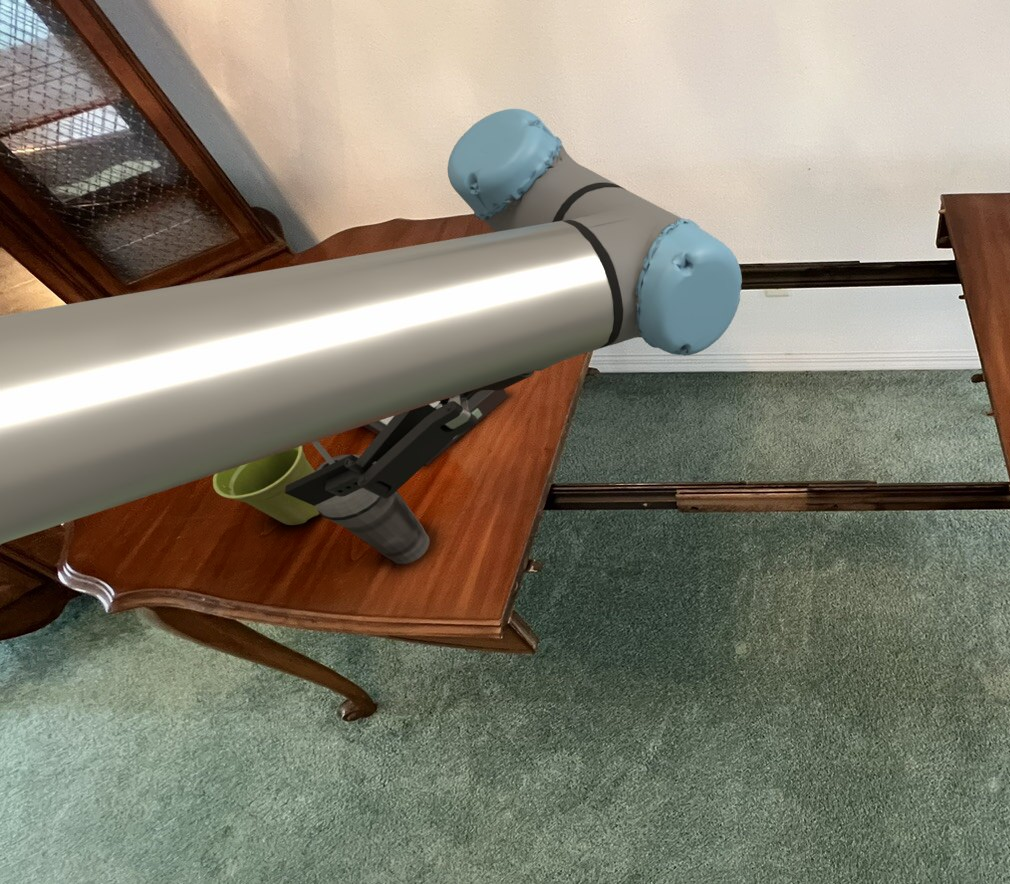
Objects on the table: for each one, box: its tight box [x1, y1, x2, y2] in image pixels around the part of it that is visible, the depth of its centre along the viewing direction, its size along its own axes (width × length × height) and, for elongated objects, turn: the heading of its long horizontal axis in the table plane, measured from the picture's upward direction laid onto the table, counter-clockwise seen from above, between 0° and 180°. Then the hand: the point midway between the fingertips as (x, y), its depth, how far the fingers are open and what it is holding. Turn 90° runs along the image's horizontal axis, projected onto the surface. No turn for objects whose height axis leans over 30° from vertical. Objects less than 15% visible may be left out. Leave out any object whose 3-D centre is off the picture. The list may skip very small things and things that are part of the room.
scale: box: [362, 389, 509, 467], centre depth 91 cm, size 14×15×3 cm
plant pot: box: [212, 446, 321, 526], centre depth 80 cm, size 9×9×9 cm
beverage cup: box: [311, 440, 431, 565], centre depth 71 cm, size 7×7×20 cm
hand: (309, 433), depth 60 cm, fingers open, 13 cm apart
